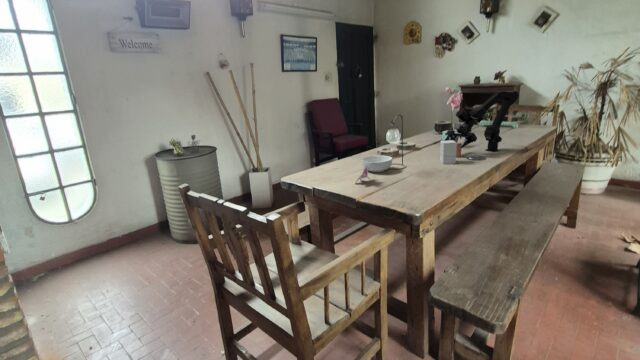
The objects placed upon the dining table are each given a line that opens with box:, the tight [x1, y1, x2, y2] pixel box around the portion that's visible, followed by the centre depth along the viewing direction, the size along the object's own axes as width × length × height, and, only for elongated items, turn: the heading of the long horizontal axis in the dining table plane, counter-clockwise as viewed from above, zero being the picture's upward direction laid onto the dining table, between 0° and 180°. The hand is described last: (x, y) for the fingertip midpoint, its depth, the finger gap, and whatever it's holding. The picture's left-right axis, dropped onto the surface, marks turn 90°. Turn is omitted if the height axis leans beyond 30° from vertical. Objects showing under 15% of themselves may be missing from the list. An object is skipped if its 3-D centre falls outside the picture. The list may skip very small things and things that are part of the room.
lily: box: [354, 165, 373, 184], centre depth 171 cm, size 12×12×10 cm
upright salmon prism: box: [455, 141, 463, 159], centre depth 210 cm, size 4×4×8 cm
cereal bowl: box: [361, 154, 393, 173], centre depth 191 cm, size 17×17×7 cm
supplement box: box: [439, 139, 457, 165], centre depth 198 cm, size 7×7×13 cm
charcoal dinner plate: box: [465, 154, 485, 161], centre depth 204 cm, size 10×10×1 cm
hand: (454, 146), depth 209 cm, fingers open, 9 cm apart
